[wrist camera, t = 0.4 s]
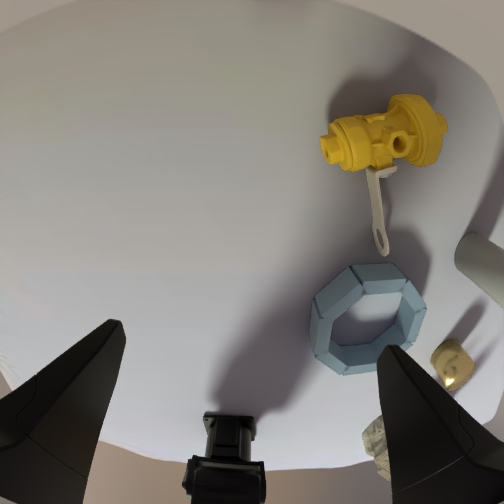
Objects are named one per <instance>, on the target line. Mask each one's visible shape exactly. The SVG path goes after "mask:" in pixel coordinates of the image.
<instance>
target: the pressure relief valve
mask: <svg viewBox="0 0 504 504" xmlns="http://www.w3.org/2000/svg"><path fill="white" fill-rule="evenodd" d="M447 130H448V126H447V122H446V120H445V119H444V117H443V116H442V115H441V114H440V113H435V112H434V110H433V109H432V107H431V106H430V105H429V103H428V102H427V101H426V100H425V99H424V98H423V97H422V96H420V95H414V94H399V95H393V96H392V97H391V99H390V102H389V105H388V108H387V113H383V114H378V113H373V114H370V115H365V116H362V115H355V116H351V117H342V118H338V119H335V121H333V123H330V124H329V126H328V135H325V136H321V137H320V144H321V149H322V152H323V155H324V157H325V159H326V161H327V162H328V163H329V164H335V163H338V164H339V165H340V167H341V168H342V169H343V170H345V171H348V170H349V171H353V172H355V171H358V170H362V169H364V168H365V170H366V176H367V182H368V188H369V194H370V200H371V207H372V215H373V223H372V231H373V236H374V242H375V245H376V247H377V249H378V251H379V252H380V254H381V255H382V256H387V255H388V254H389V242H388V238H387V235H386V231H385V226H384V216H383V207H382V199H381V191H380V184H379V178H387V177H390V176H391V175H392V174H393V173H392V172H396V171H398V169H397V165H394V164H393V162H392V161H393V159H394V158H401V157H403V158H404V159H405V160H406V161H407V162H409V163H411V164H413V165H416V166H418V167H423V166H426V165H430V164H433V163H435V162H436V160H437V158H438V155H439V153H440V150H441V147H442V135H445V134H446V133H447ZM377 229H378V230H379V232H380V233H381V236H382V238H383V242H384V249H383V248H382V247H381V245H380V243H379V240H378V237H377Z"/></svg>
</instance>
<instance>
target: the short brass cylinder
mask: <svg viewBox="0 0 504 504" xmlns="http://www.w3.org/2000/svg"><path fill="white" fill-rule="evenodd" d="M430 362H431V364H432V366H433V367H434V369H435V371H436V372H437V374H438V376H439V377H440V379H441V381H442V382H443V384H444V386H445V387H446V389H447V390H448V391H453V390H456V389H458V388H460V387H461V386H462V385H464V384H465V383H466V382H467V381H468V380H469V379H470V378H471V377H472V375H473V374H474V372H475V370H476V365H475V363H474V362H473V360H472V359H471V358H470V356H469V355H468V354H467V352H466V351H465V350H464V348H463V347H462V346H461V345H460V343H459V342H458V341H457V340H456V339H449V340H446V341H445V342H443V343H442V344H441V345H439V346H438V347H437V348H436V350H435V351H434V352H433V354H432V356H431V359H430Z"/></svg>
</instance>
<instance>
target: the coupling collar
mask: <svg viewBox="0 0 504 504" xmlns="http://www.w3.org/2000/svg"><path fill="white" fill-rule="evenodd" d="M395 292H400V293H401V295H402V299H401V303H400V306H399V310H398V314H397V317H396V321H395V323H394V324H393V325H392V326H391V327H390V328H388V329H387V330H386V331H385V332H384V333H382V334H381V335H380V336H379V337H377V338H376V339H375V340H374V341H372V342H371V343H368V344H360V345H351V346H340V345H338V344H337V343H336V342H335V341H333V340H332V339H331V338H330V336H331V331H332V325H333V321H334V320H335V319H337V318H338V317H339V316H340V315H342V314H343V313H344V312H345V311H346V310H348V309H349V308H350V307H351V306H352V305H354V304H355V303H356V302H357V301H358V300H359V299H361V298H362V297H363V296H364V295H370V294H383V293H395ZM426 306H427V305H426V304H425V302H424V301H423V299H422V298H421V296H420V295H419V293H418V292H417V290H416V289H415V287H414V286H413V285H412V283H411V282H410V280H409V279H408V278H407V277H406V276H405V275H404V274H403V273H402V272H401V271H400V270H399V269H398V268H397V267H396V266H395V265H393V264H392V263H383V264H357V265H352V268H351V269H350V268H349V267H347V268H346V269H345V270H343V271H342V272H341V273H340V274H339V275H338V276H337V277H336V278H334V279H333V280H332V281H331V282H330V283H329V284H328V285H326V286H325V287H324V288H323V289H322V290H321V291H320V292H318V293H317V294H316V295H315V299H312V309H311V319H310V328H309V336H310V341H311V345H312V349H313V353H314V355H315V358H316V359H318V360H319V361H321V362H322V363H323V364H325V365H326V366H328V367H329V368H330V369H332V370H333V371H335V372H336V373H338V374H339V375H340V374H343V375H351V374H359V373H365V372H372V371H377V366H376V363H377V359H378V357H379V356H380V354H381V352H382V351H383V349H384V348H385V346H386V345H388V344H397V345H399V346H400V347H401V348H402V349H403V350H404V351H406V350H407V349H409V348H410V347H411V346H412V345H413V344H412V342H415V341H416V339H417V336H418V333H419V330H420V328H421V325H422V322H423V319H424V316H425V313H426V310H427V308H426Z"/></svg>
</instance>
